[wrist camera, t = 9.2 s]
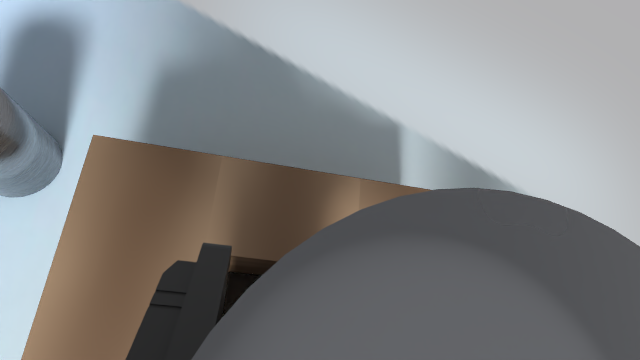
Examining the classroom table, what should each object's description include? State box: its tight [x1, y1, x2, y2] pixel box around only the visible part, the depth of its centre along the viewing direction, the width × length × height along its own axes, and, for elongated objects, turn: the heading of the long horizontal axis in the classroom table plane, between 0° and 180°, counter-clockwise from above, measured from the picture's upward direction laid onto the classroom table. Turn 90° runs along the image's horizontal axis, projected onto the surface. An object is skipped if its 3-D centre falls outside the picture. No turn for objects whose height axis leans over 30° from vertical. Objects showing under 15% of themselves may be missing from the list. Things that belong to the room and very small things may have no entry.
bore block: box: [21, 135, 431, 360], centre depth 17 cm, size 16×14×7 cm
